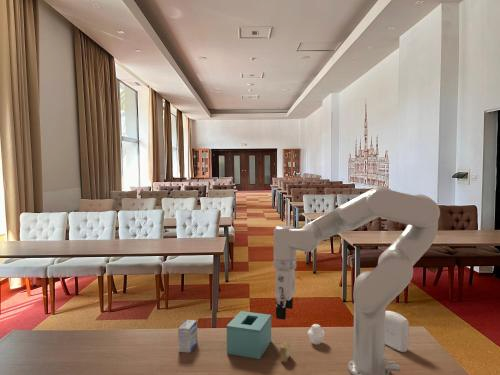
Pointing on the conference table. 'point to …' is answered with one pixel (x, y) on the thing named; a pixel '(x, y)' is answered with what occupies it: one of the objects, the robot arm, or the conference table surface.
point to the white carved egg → (316, 334)
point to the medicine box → (187, 336)
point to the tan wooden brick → (285, 351)
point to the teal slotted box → (249, 334)
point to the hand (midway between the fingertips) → (284, 313)
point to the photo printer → (396, 331)
